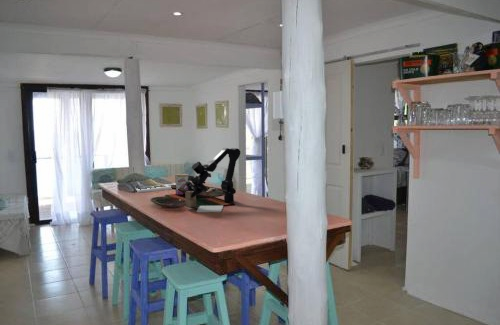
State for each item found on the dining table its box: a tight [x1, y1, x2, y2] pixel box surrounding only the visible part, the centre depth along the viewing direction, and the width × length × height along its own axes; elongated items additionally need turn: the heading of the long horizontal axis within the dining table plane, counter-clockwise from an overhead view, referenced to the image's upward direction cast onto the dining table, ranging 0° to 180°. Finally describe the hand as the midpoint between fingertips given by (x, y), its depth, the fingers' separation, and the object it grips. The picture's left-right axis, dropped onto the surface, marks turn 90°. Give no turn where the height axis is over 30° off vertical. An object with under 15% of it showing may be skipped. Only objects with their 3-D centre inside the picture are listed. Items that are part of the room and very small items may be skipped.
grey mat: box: [196, 205, 224, 213], centre depth 260 cm, size 16×16×1 cm
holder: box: [135, 182, 176, 194], centre depth 346 cm, size 45×18×3 cm, turn 121°
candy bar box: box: [174, 173, 191, 196], centre depth 316 cm, size 11×5×16 cm, turn 84°
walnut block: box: [184, 191, 197, 208], centre depth 260 cm, size 5×5×10 cm
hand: (188, 196), depth 259 cm, fingers closed on walnut block, 5 cm apart
